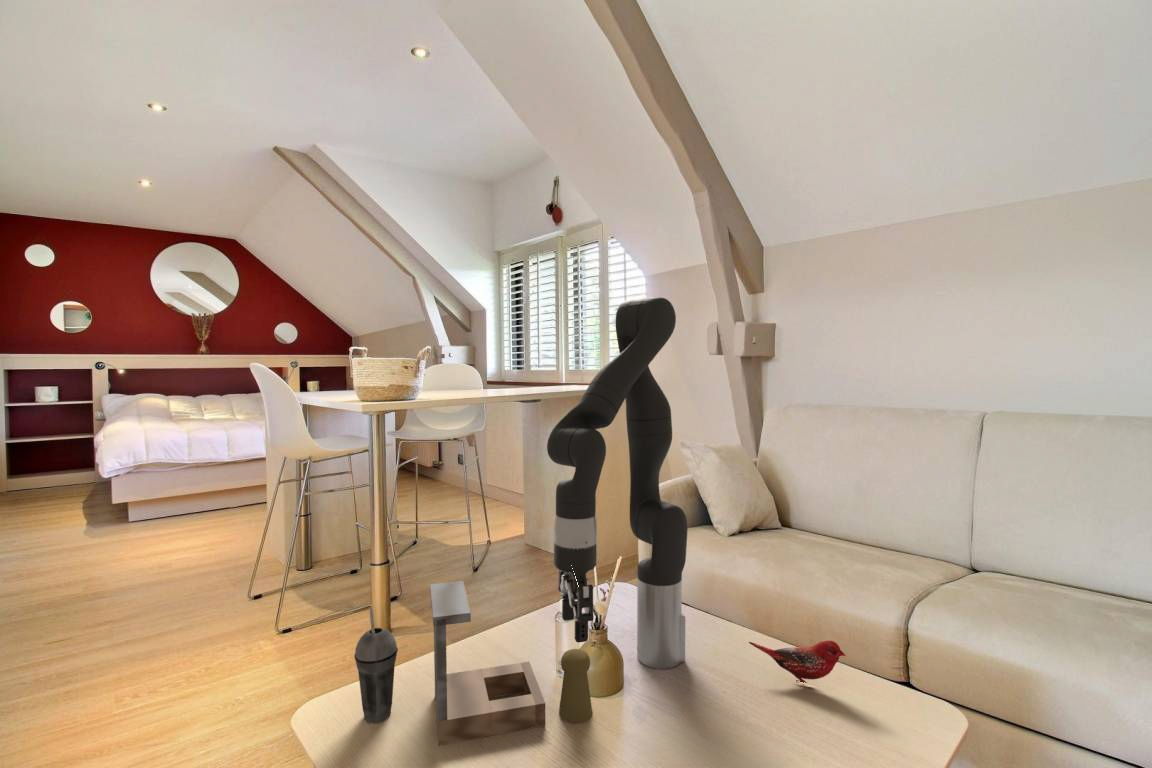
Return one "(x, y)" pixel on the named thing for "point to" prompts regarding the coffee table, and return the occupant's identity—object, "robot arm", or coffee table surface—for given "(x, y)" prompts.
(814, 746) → the coffee table surface
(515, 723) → the socket stand
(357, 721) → the coffee table surface
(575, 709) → the cork
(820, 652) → the decorative bird figurine
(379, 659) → the beverage cup
